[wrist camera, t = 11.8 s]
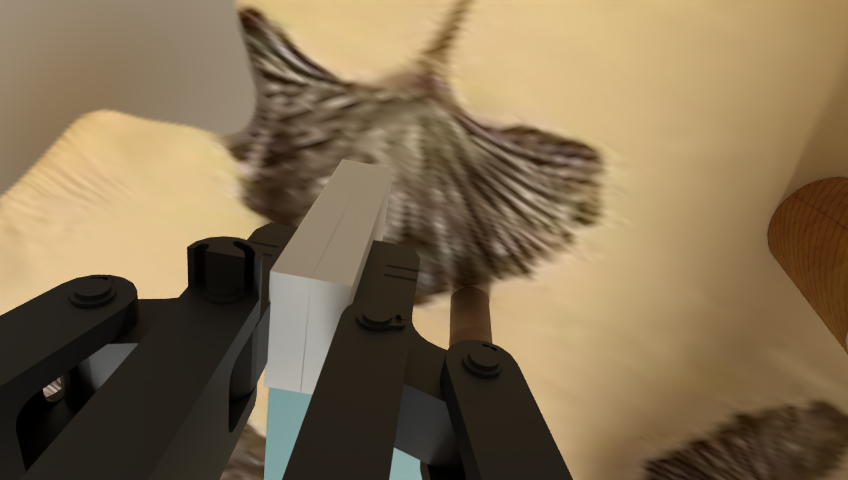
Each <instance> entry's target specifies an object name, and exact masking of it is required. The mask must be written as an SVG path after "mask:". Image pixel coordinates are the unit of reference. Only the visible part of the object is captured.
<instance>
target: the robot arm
mask: <svg viewBox="0 0 848 480" xmlns="http://www.w3.org/2000/svg"><path fill="white" fill-rule="evenodd" d="M392 175H393V169H392V168H387V167H382V166H376V165H371V164H366V163H361V162H355V161H350V160H345V159H342V161H341V162H340V164H339V165H338V167H337V169H336V170H335V172H334V173H333V175H332V176H331V178H330V179H329V181H328V182H327V184H326V185H325V187H324V189H323V190H322V192H321V193H320V195H319V196H318V198H317V199H316V201H315V202H314V204H313V206H312V207H311V209H310V210H309V212H308V213H307V215H306V216H305V218H304V219H303V221H302V223H301V224H300V226H299V227H293V226H288V225H282V224H277V223H269V224H267V225H265V226H262V227H260V228H258V229H256V230H255V231H254V232H253V233H252V235H251V236H250V237H249V238H248V239H247V240H244V239H241V238H236V237H225V236H223V237H211V238H206V239H203V240H199V241H196V242H195V243H193V244H191V245H190V246H188V247H187V258H188V287H187V288H186V290H185V291H184V292H183V293H182V294H181V295H180V296H179V298H170V299H138V296H137V289H136V288H135V286H134V284H133V283H132V282H130V281H128V280H127V279H125V278H122V277H117V276H112V275H90V276H85V277H80V278H76V279H73V280H71V281H68V282H65V283H63V284H61V285H59V286H57V287H55V288H53V289H51V290H49V291H47V292H45V293H43V294H41V295H39V296H37V297H36V298H34V299H32V300H30V301H28V302H26V303H24V304H22V305H20V306H18V307H16V308H14V309H12V310H10V311H9V312H7V313H5V314H3V315H1V316H0V480H219V479H220V477H221V475H222V473H223V471H224V469H225V467H226V465H227V462H228V460H229V458H230V456H231V454H232V452H233V450H234V448H235V446H236V444H237V441H238V439H239V437H240V435H241V433H242V431H243V429H244V427H245V425H246V423H247V421H248V418H249V416H250V414H251V412H252V410H253V408H254V406H255V402H256V396H257V382H258V380H259V378H260V376H261V374H262V372H263V370H264V368H265V377H264V386H266V387H272V388H278V389H283V390H289V391H294V392H300V393H306V394H311V395H312V397H311V400H310V403H309V406H308V408H307V411H306V414H305V417H304V419H303V422H302V425H301V428H300V431H299V433H298V436H297V439H296V442H295V444H294V447H293V450H292V453H291V456H290V458H289V461H288V464H287V467H286V469H285V472H284V475H283V478H282V480H389V478H390V472H391V465H392V458H393V451H394V448H396V449H398V450H400V451H402V452H404V453H406V454H408V455H410V456H412V457H414V458H416V459H418V460H420V472H421V477H422V480H573V478H572V476H571V474H570V472H569V470H568V468H567V466H566V464H565V462H564V460H563V458H562V455H561V453H560V451H559V449H558V447H557V445H556V443H555V441H554V439H553V437H552V435H551V433H550V430H549V428H548V426H547V424H546V422H545V420H544V418H543V416H542V414H541V412H540V410H539V407H538V405H537V403H536V401H535V399H534V397H533V395H532V393H531V391H530V389H529V387H528V385H527V382H526V380H525V378H524V376H523V374H522V372H521V370H520V368H519V366H518V364H517V362H516V361H515V360H514V358H513V357H512V356H511V355H510V354H509V353H508V352H506V351H505V350H504V349H502V348H501V347H499V346H497V345H494V344H492V343H489V342H487V341H481V340H474V339H471V340H461V341H459V342H457V343H455V344H453V345H451V346H450V347H449V349H448V350H445V349H443V348H440V347H438V346H436V345H434V344H432V343H430V342H428V341H427V340H426V339H424V338H423V337H422V336H420V334H419V333H418V332H417V331H416V330H415V328H414V326H413V324H412V312H413V305H414V298H415V291H416V284H417V277H418V270H419V263H420V258H419V256H418V254H417V253H416V251H415V249H414V248H413V247H409V246H404V245H399V244H393V243H388V242H382V239H383V232H384V226H385V220H386V213H387V207H388V201H389V194H390V188H391V182H392ZM59 377H60V381H61V387H62V389H60V390H59V391H57V392H56V393H55V394H53V395H50V396H48V397H46V398H45V396H44V393H43V388H45V387H46V386H48V385H49V384H50V383H52V382H53V381H55V380H56V379H58V378H59Z"/></svg>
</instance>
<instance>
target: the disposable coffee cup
mask: <svg viewBox="0 0 848 480" xmlns="http://www.w3.org/2000/svg"><path fill="white" fill-rule="evenodd" d="M768 245H769V248H770V251H771V253H772V254H773V256H774V257H775V259H776V260H777V261H778V263H779V264H780V265H781V266H782V268H783V269H784V270H785V272H786V273H787V274H788V276H789V277H790V278H791V280H792V281H793V282H794V284H795V285H796V286H797V288H798V289H799V290H800V292H801V293H802V294H803V296H804V297H805V298H806V300H807V301H808V302H809V303H810V305H811V306H812V308H813V309H814V310H815V311H816V313H817V314H818V315H819V316H820V318H821V319H822V320H823V322H824V323H825V324H826V326H827V327H828V329H829V330H830V331H831V333H832V334H833V335H834V336H835V338H836V339H837V340H838V342H839V343H840V344H841V346H842V347H843V348H844V349H845V351H846V353H847V354H848V178H842V177H838V178H828V179H824V180H820V181H816V182H814V183H811V184H809V185H806V186H805V187H803V188H801V189H800V190H798V191H796V192H795V193H794V194H793V195H791V196H790V197H789V198H788V199H787V200H785V201H784V203H783V204H782V205H781V206H780V207H779V208H778V210H777V211H776V213H775V214H774V216H773V218H772V220H771V223H770V225H769V230H768Z"/></svg>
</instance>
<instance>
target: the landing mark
mask: <svg viewBox="0 0 848 480" xmlns="http://www.w3.org/2000/svg"><path fill="white" fill-rule="evenodd" d="M311 397H312V395H311V394H306V393H300V392H294V391H289V390H283V389H278V388H272V387H269V402H268V419H267V437H266V454H265V471H264V480H282V478H283V475H284V472H285V469H286V467H287V464H288V461H289V458H290V456H291V453H292V450H293V447H294V444H295V442H296V439H297V436H298V433H299V431H300V428H301V425H302V422H303V419H304V417H305V414H306V411H307V408H308V406H309V403H310V400H311ZM389 480H422V477H421V472H420V460H418V459H416V458H414V457H412V456H410V455H408V454H406V453H404V452H402V451H400V450H398V449H396V448H394V451H393V458H392V465H391V472H390V478H389Z"/></svg>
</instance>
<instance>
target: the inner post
mask: <svg viewBox="0 0 848 480" xmlns="http://www.w3.org/2000/svg"><path fill="white" fill-rule="evenodd" d="M471 339H474V340H481V341H487V342H489V343H492V333H491V322H490V310H489V300H488V297H487V296H486V294H485V293H484V292H483V291H481V290H479V289H477V288H473V287H467V288H463V289H460V290H458V291H457V292H456V293H455V294H454V295H453V297H452V299H451V310H450V342H449V347H450V346H451V345H453V344H455V343H457V342H459V341H461V340H471Z"/></svg>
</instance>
